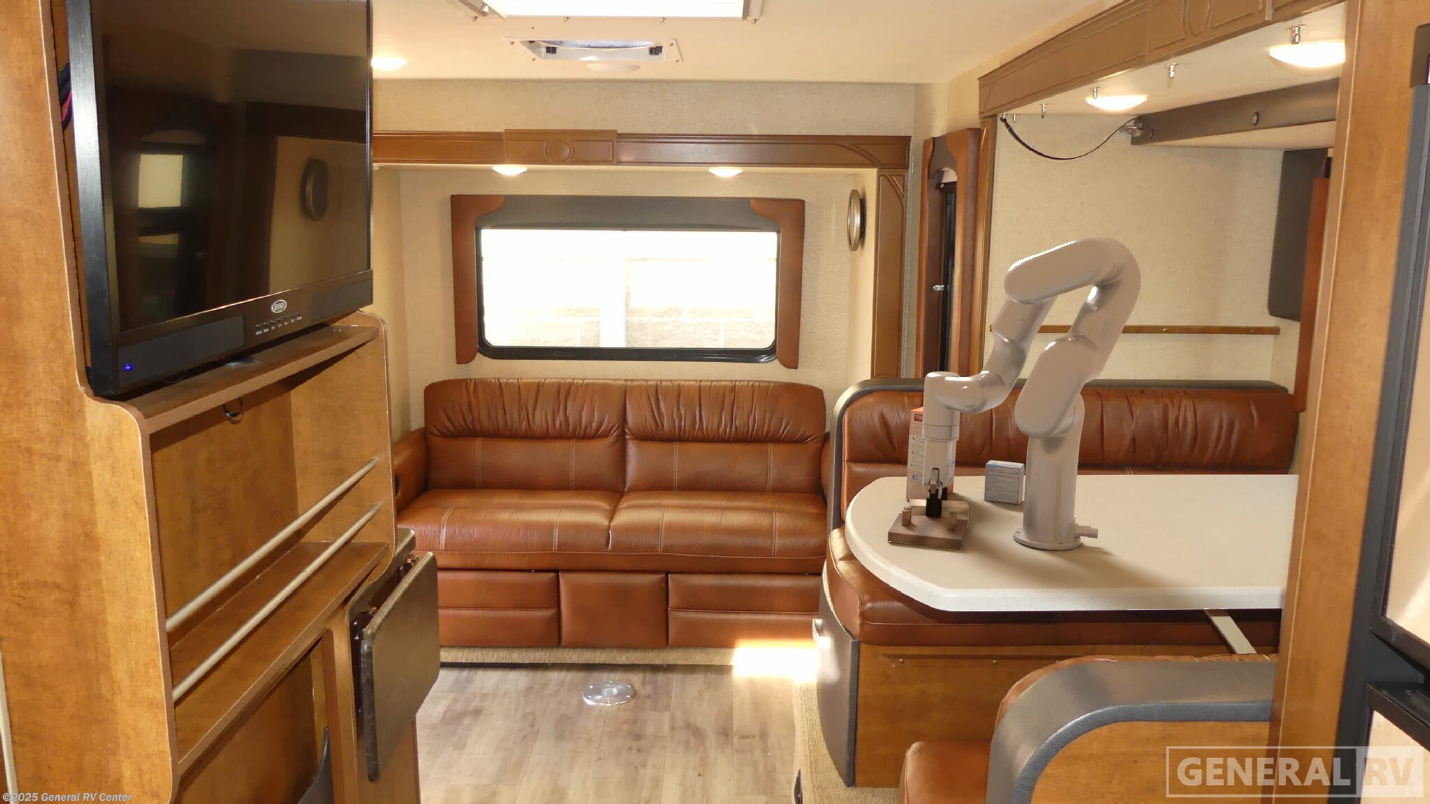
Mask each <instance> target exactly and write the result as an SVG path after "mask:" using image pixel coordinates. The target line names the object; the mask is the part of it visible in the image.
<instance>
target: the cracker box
mask: <svg viewBox="0 0 1430 804" xmlns="http://www.w3.org/2000/svg"><path fill="white" fill-rule="evenodd" d="M909 414H910V417H909V418H910V419H909V435H908V436H909V437H908V453H907V471H906V473H907V474H906V491H905V492H906V493H905V500H907V501H909V499H919V500H926V498H927V493H928V485H929V483H928V485H926V486H925V487H924V486H923V485H922V478H923V466H924V454H925V445H926V439H923V438H922V423H923V406H921V407H918V408H913V409H912V410H910V413H909ZM956 452H957V441H953V446H952V462H951V472H950V478H949V481H948V483H947V487H948V492H947V495H949V494H951V493H953V492H954V487H955V486H954V483H955V470H956V468H955V467H956Z"/></svg>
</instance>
